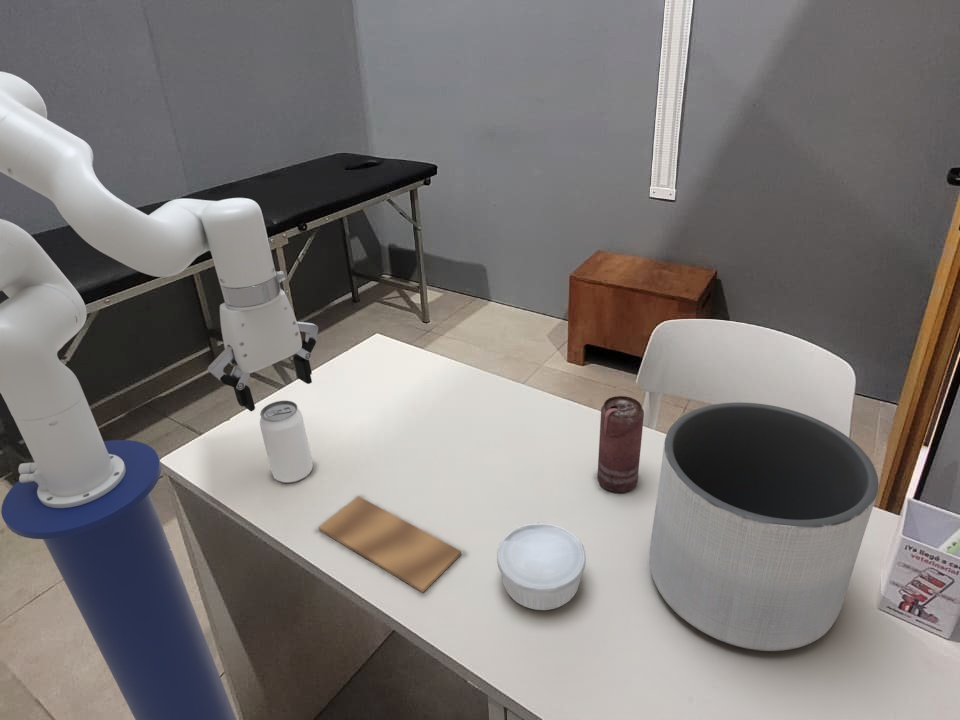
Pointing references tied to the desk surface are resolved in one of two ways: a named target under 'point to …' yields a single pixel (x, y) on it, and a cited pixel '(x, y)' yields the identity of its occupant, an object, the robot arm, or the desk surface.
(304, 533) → the desk surface
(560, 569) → the ramekin
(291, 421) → the can
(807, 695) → the desk surface
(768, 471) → the planter
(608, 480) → the can
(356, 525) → the board
